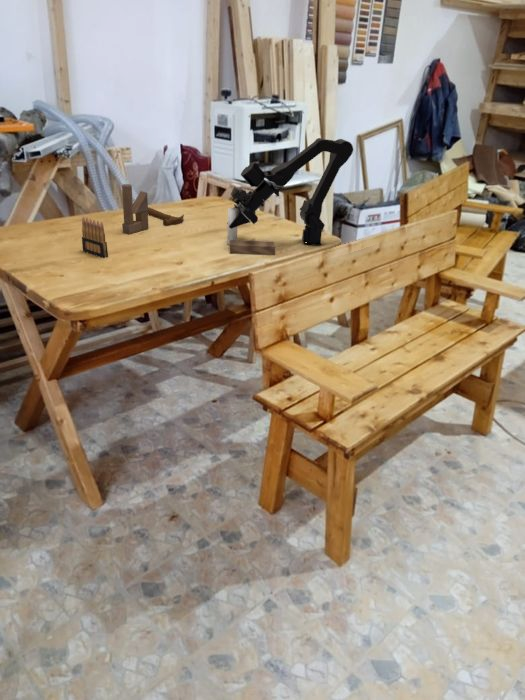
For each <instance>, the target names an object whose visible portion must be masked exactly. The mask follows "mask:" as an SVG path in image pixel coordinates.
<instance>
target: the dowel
mask: <svg viewBox="0 0 525 700" xmlns="http://www.w3.org/2000/svg"><path fill="white" fill-rule="evenodd" d="M237 215H238V208H234V207H228V209H227V223H228V224H227V240H226V242H227V243H226V244H227V245H229V246H230V240H238V227H239V226H237V227H234V228H232V229H231V228H230V227H229V226H230V224H231V223H232V222H233V220H234V219H235V218H236V216H237Z"/></svg>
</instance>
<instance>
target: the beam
mask: <svg viewBox="0 0 525 700" xmlns="http://www.w3.org/2000/svg"><path fill="white" fill-rule="evenodd" d="M275 250H276V245H275V242H274V241H266V240H265V241H264V240H263V241H262V240H238V239H237V240H230V245H229V254H231V255H232V254H238V255H263V256H264V255H266V256H267V255H268V256H270V255H271V256H275V254H276V253H275V252H276V251H275Z"/></svg>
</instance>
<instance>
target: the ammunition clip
mask: <svg viewBox="0 0 525 700" xmlns="http://www.w3.org/2000/svg"><path fill="white" fill-rule="evenodd" d="M81 224H82V225H81V227H82V228H81V231H82V237H81V242H82V252H83V251H85V252H84V253H87V252H88V253H87V254H89V255H94V256H96V255H97V256H96V257H99V256H100V257H99V258H102V257H103V258H102V259H106V258H109V252H108V244H107V241H106V233H105V229H104V222H103V221H101V222H100V221H99V220H95V219H93V221H92V219H91V218H90V219H88V217H86V218H85V217H84V216H82V218H81ZM105 257H106V258H105Z"/></svg>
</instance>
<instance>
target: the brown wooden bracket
mask: <svg viewBox="0 0 525 700" xmlns="http://www.w3.org/2000/svg"><path fill="white" fill-rule="evenodd" d="M121 189H122V190H121V192H122V208H123V209H122V210H123V223H122V224H121V225H122V233H124V234H127V235H131V234H135V233H138V232H141V231H142V230H143V231H146V230H148V229H149V215H148V207H149V205H148V204H149V203H148V202H149V201H148V200H149V198H148V192H146V191H142V190H140V191H139V193H138V195H137V197H136V198H135V200H134V201H133V185H132V184H129V183H124V184H121ZM134 216H135V220H134Z"/></svg>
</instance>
